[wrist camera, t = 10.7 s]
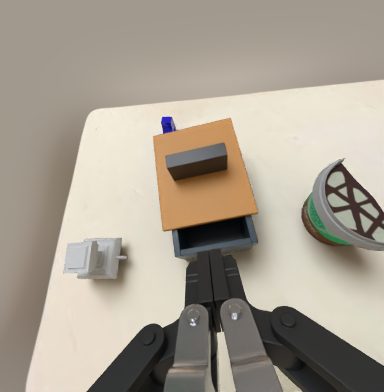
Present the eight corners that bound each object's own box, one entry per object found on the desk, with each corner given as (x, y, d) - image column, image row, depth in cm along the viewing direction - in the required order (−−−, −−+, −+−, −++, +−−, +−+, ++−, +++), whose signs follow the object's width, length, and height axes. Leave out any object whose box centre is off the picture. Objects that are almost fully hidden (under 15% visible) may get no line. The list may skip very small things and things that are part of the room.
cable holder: (178, 161, 41) (173, 151, 37) (161, 161, 41) (155, 150, 38) (182, 129, 43) (178, 116, 40) (167, 129, 44) (162, 116, 40)
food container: (279, 199, 35) (298, 174, 26) (311, 185, 35) (342, 154, 25) (323, 268, 30) (366, 268, 21) (360, 252, 30) (420, 244, 21)
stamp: (134, 239, 36) (109, 231, 29) (130, 278, 34) (102, 281, 26) (89, 240, 38) (54, 233, 30) (83, 278, 35) (42, 281, 28)
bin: (176, 185, 39) (164, 166, 31) (231, 174, 38) (233, 151, 30) (186, 259, 34) (174, 257, 26) (250, 248, 33) (258, 242, 25)
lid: (154, 139, 34) (143, 119, 29) (230, 121, 32) (231, 97, 28) (164, 231, 28) (152, 224, 23) (257, 213, 27) (263, 202, 22)
